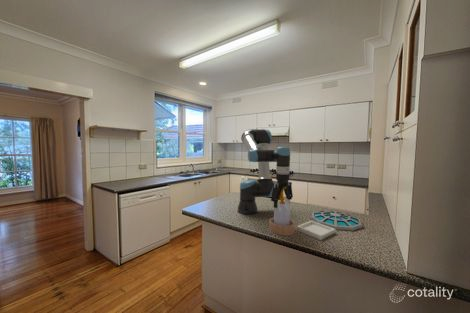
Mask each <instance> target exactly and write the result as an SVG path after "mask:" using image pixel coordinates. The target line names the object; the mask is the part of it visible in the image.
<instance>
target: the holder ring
mask: <svg viewBox="0 0 470 313" xmlns="http://www.w3.org/2000/svg"><path fill="white" fill-rule="evenodd" d="M268 221H269V222H268V223H269V224H268V225H269V226H268V229H269V230H270V232H271V233H273V234H275V235H281V236H290V235H292V234H295V231H296V229H295V228H296V226H295V224H296V222H295V221H294V220H293V219H291V218H290V225H289V226H281V225H276V224H274V217H271V218H270V219H269V220H268Z"/></svg>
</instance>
